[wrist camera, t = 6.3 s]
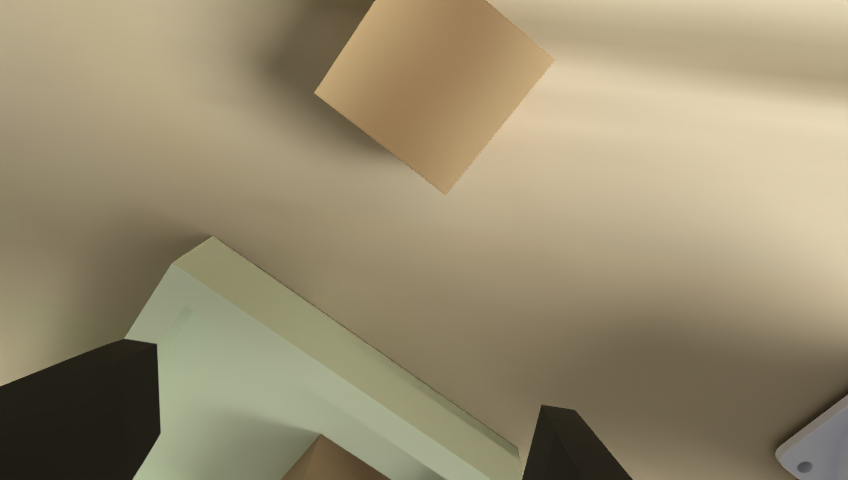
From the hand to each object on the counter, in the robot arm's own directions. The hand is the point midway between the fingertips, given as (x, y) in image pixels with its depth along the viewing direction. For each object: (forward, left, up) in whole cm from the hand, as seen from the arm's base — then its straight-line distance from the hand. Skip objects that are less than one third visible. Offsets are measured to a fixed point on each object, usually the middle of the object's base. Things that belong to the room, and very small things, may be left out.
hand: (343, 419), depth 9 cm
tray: (-1, +9, -8) cm, 13 cm away
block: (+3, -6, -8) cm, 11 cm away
